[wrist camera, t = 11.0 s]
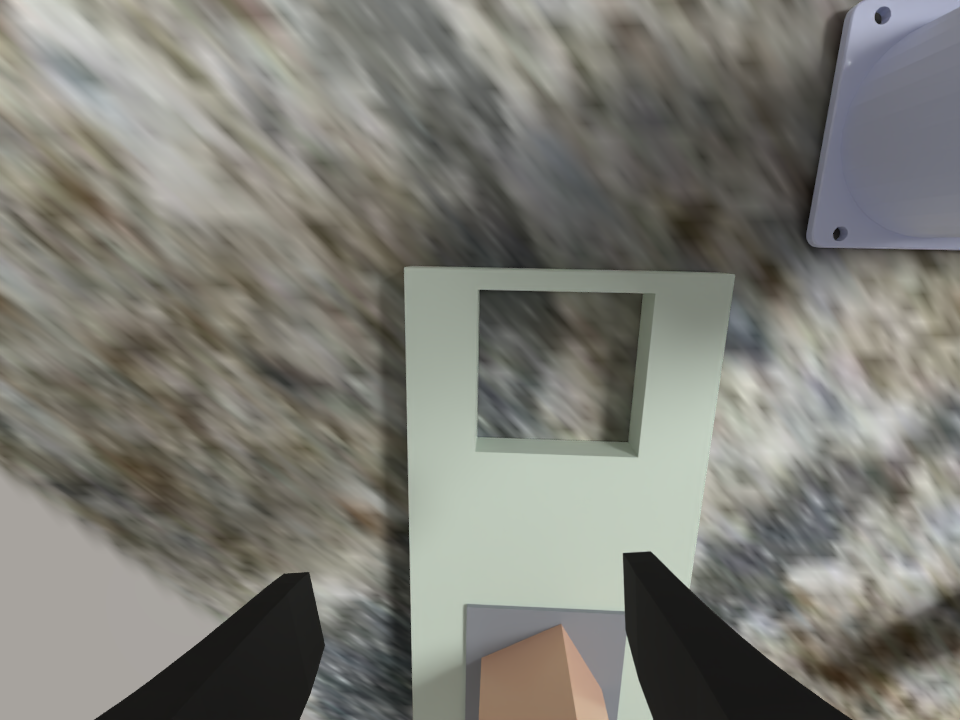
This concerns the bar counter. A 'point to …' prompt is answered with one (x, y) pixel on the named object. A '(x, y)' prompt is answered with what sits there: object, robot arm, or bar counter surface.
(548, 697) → the terracotta block
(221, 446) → the bar counter surface
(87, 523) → the bar counter surface
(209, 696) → the robot arm
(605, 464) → the pocket board
